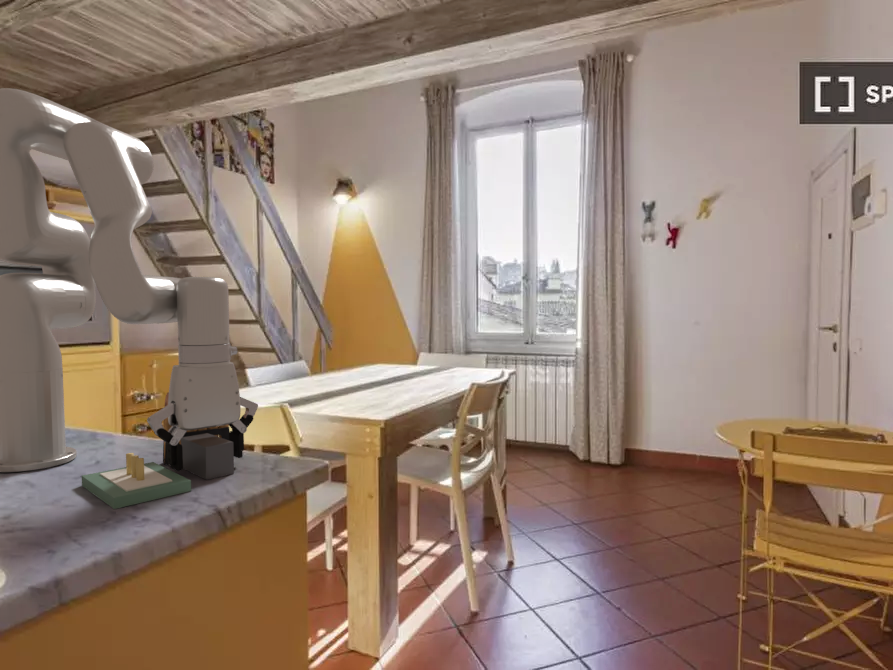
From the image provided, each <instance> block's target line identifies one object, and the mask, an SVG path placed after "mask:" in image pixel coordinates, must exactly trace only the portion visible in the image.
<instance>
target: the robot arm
mask: <svg viewBox="0 0 893 670" xmlns="http://www.w3.org/2000/svg"><path fill="white" fill-rule="evenodd" d="M32 150H33V151H36V152H39V153H43V154H45V155H49V156H53V157H56V158H59V159H63V160H66V161H68V163H69V166H70V167H71V170H72V173H73V175H74V178H75V180H76V182H77V185H78V187H79V189H80V191H81V193H82V195H83V198H84V201H85V202H86V203H85V204H86V205H87V209H88V210H89V214H90V215H91V218H92V220H93V223H94V227H93V230H92V231H91V232H92V233H91V234H90V235H91V236H90V237H89V235H88V233H87V231H86V228H84V226H83V225H82V224H81V223H80V222H79V221H78V220H76V219H75V218H73V217H72V216H70V215H66V214H63V213H62V214H61V213H59V212H58V213H57V212H53V211H50V209H49V207H48V201H47V196H46V193H47V192H46V185H45V179H44V177H43V176H42V175H43V174H42V173H41V170H40V169H39V167H38V165H37V163H36V162H35V160H34V159H33V158H32V156H31V153H30V152H31V151H32ZM154 164H155V163H154V158H153V155H152V153H151V151H150V149H149V147H148V146H147V145H146V144H145V142H143V141H142V140H141V139H140V138H138V137H136V136H134V135H131V134H129V133H126V132H124V131H122V130H119V129H117V128H114V127H112V126H109V125H107V124H105V123H103V122H100V121H99V120H96V119H95V118H92V117H90V116H88V115H85V114H84V113H81V112H78V111H76V110H74V109H71V108H70V107H68V106H67V107H66V106H64V105H63V104H62V105H61V104H60V103H58V102H55V101H53V100H50V99H48V98H46V97H43V96H40V95H39V94H36V93H32V92H29V91H26V90H23V89H17V88H11V87H10V88H9V87H8V88H7V87H5V88H4V87H1V88H0V261H1V262H4V263H9V264H13V265H22V266H34V267H35V266H37V267H41V269H42V273H38V272H37V273H36V272H9V273H4V274H0V473H18V472H19V473H20V472H28V471H36V470H41V469H49V468H52V467H56V466H60V465H63V464H66V463H68V462H71V461H73V460H74V459H76V458H77V454H78V453H77V452H78V451H77V449H76V448H74V447H72V446H66V445H67V444H66V443H67V442H66V423H65V422H66V420H65V419H66V418H65V398H64V397H65V396H64V394H65V393H64V373H63V371H64V370H63V357H62V352H61V348H60V345H59V343H58V341H57V340H56V338H55V336H54V334H53V332H52V330H60V329H61V330H63V329H64V330H65V329H71V328H76V327H80V326H83V325H84V324H86V323H87V322H88V321H89V320H90V319H92V316H93V314H94V312H95V309H96V303H97V295H96V289H97V290H98V293H99V296H100V298H101V299H102V302H103V304H104V305H105V307H106V309H107V310H108V311H109V313H110V314H111V315H112V316H113V317H114V318H115V319H117V320H118V321H120V322H123V323H125V324H128V325H147V324H158V325H159V324H172V323H177V346H178V347H177V348H178V349H177V350H178V351H177V352H178V364H175V365H173V366H172V370H171V374H170V382H169V388H168V392H169V398H168V405H167V406H166V407H165V406H164V407H162V408H161V409H160V410H158V411H155V413H153V414H151V415H150V416H149V417H147V418H146V419H147V420H146V421H147V424H148V425H149V427H150V428H151V430H152V431H153V433H154V435H156V436H157V437H158V438H159V439H160V440H162V441H164V442H166V443H167V462H168V464H169V465H168V466H169V467H170V469H172V470H173V469H174V470H175V471H178V472H179V471H182V470H184V469H183V451H182V445H181V444H179V441H180V440H181V438H182V437H183V435H184V434H185V433H186V431H189V430H197V429H203V428H210V427H216V426H222V425H227V424H228V425H229V428H231V431H230V430H229V431H230V433H229V441H232V442H233V450H234V458H238V459H241V458H243V455H244V454H243V452H244V450H245V436H244V435H245V433H246V432H247V431H248V427H249V426H250V425H251V423H252V422H254V416H255V415H256V412H257V410H258V408H259V405H258V403H256V402H254V401H253V400H249V399H247V398H245V397H242V396H241V395H240V386H239V380H238V374H237V370H236V367H235V364H234V362H233V361H231V360H232V356H234V355H237V354H238V347H237V346H232V343H230V304H229V286H228V283H227V282H226V281H227V280H225V279H223V278H220V277H217V276H216V277H214V276H187V277H183V278H182V277H181V278H180V277H172V276H162V275H150V274H143V271H142V270H141V267H140V265H139V263H138V261H137V257H136V255H135V252H134V248H133V242H132V241H133V240H132V238H133V232H134V230H135V229H137V228H139V227H141V226H143V225H144V224H146V223H147V222H148V221H149V220H150V219H151V216H152V213H153V211H152V206H151V203H150V202H149V199H148V197H147V195H146V193H145V191H144V188H143V185H144V184H146V183H147V182H148V181H149V179H150V178H151V177H152V175H153V172H154V166H155V165H154ZM241 407H243V408H244V409H245V411H244V414H243V415H242V416H241ZM167 417H168V422H169V424H170V425H171V426H172V427H171V428H170V429H169V431H166V430H165V429H164V425H163V424H162V422H164V419H166V418H167Z"/></svg>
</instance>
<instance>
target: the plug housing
mask: <svg viewBox="0 0 893 670" xmlns="http://www.w3.org/2000/svg"><path fill="white" fill-rule="evenodd" d="M181 445H182V451H183V469H182V470H185V471H186V472H187V471H188V472H189V471H190V472H189V473H191V472H192V473H191V474H193V473H194V475H195V476H197V475H198V477H200V478H202V479H203V480H206V481H207V480H211V479H215V478H219V477H220V478H221V477H224V476H228V475H232V474H235V461H234V459H235V457H234V450H233V442H232V441H229V440H226V439H223V438H220V437H219V436H218V437H217V436H214V435H212V434H209V433H205V434H199V435H193V436H188V437H182V438H181Z"/></svg>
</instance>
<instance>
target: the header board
mask: <svg viewBox="0 0 893 670" xmlns="http://www.w3.org/2000/svg"><path fill="white" fill-rule="evenodd" d="M125 461H126V463H125V465H126V467H125V466H124V467H119V468H115V469H108V470H103V471H99V472H93V473H89V474H84V475H83V474H82V475H81V486H82V487H83V488H84V489H86V490H87V491H88V492H90V493H91V494H93V495H94V496H95V497H97V498H98V499H99V500H101V501H102V502H104V503H105V504H107V505H108V506H110V507H111V508H112V509H113V510H117V509H120V508H125V507H129V506H134V505H138V504H142V503H146V502H151V501H154V500H159V499H163V498H168V497H171V496H176V495H178V494H183V493H187V492H192V480H191V479H189V478H187V477H185V476H183V475H181V474H178V473H177V472H174V471H173V470H171V469H168V468H166V467H165V466H162V465H160V464H158V463H157V462H154V461H151V462H147V463H145V459H144V457H139V455H137V454H136V455H135V453H134V452H127V453H126V454H125Z"/></svg>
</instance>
